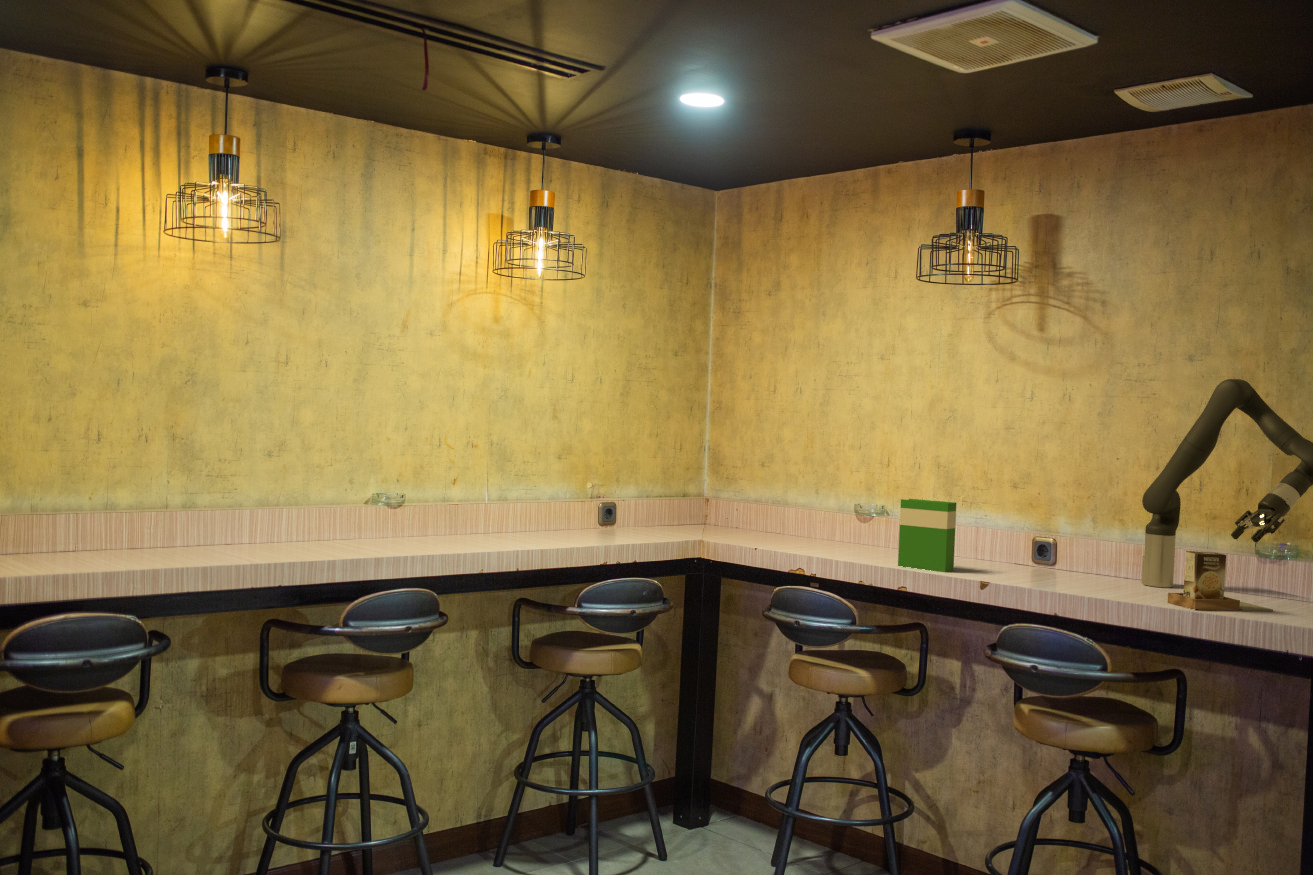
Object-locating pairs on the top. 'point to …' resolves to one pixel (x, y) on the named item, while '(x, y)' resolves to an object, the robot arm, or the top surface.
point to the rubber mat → (1252, 607)
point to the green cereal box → (927, 535)
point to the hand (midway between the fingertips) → (1243, 538)
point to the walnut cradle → (1203, 602)
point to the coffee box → (1204, 575)
